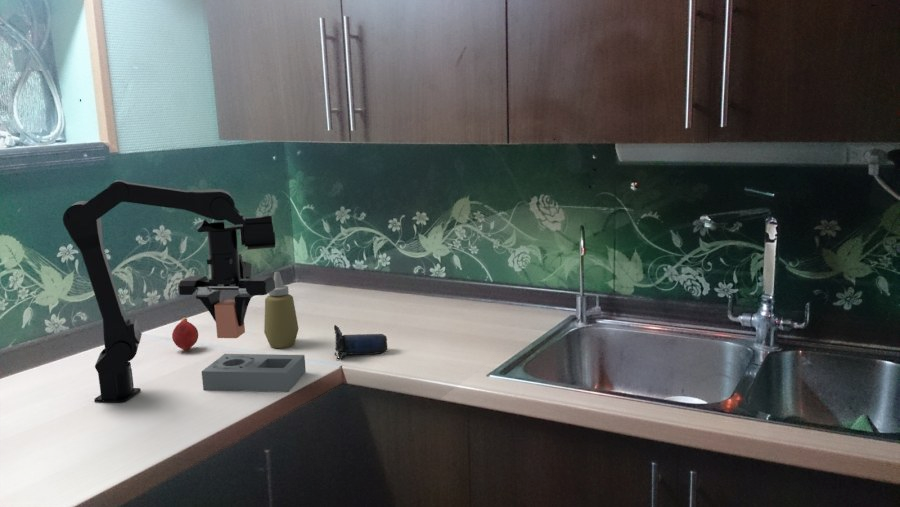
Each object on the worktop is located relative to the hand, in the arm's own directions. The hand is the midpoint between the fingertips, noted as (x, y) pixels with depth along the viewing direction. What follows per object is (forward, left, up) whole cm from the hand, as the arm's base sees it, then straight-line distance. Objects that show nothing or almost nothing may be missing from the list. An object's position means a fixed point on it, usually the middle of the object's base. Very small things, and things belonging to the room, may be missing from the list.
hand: (230, 325), depth 156 cm
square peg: (0, 0, -2) cm, 2 cm away
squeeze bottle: (+24, -2, -12) cm, 27 cm away
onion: (+19, +20, -12) cm, 30 cm away
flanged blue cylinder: (+19, -22, -12) cm, 32 cm away
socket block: (0, -5, -12) cm, 13 cm away
